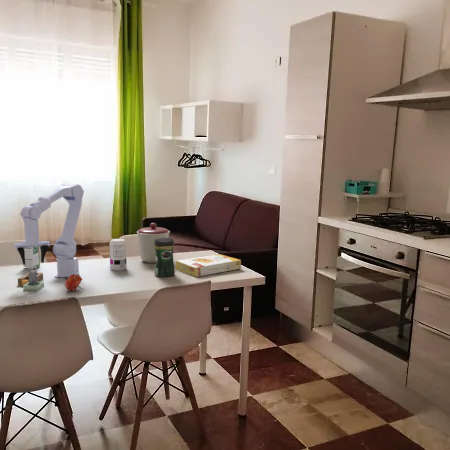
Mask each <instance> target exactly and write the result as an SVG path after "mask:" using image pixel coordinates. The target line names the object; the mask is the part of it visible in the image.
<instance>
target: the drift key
mask: <svg viewBox="0 0 450 450" xmlns="http://www.w3.org/2000/svg"><path fill="white" fill-rule="evenodd" d="M28 282H29V279H28V280H22V285H21V286H22V287H23V286H24V285H25V284H27V283H28Z"/></svg>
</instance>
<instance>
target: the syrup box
mask: <svg viewBox="0 0 450 450" xmlns="http://www.w3.org/2000/svg"><path fill="white" fill-rule="evenodd" d="M21 243H25V239H24V240H22V241H21ZM23 249H24V250H25V265H23V268H24V267H26V268H35V267H38V266H40V267H41V264H40V263H41V257H40V247H29V248H23ZM38 268H39V267H38ZM35 269H36V268H35Z"/></svg>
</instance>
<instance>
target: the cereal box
mask: <svg viewBox="0 0 450 450" xmlns="http://www.w3.org/2000/svg"><path fill="white" fill-rule="evenodd" d="M241 260H242V259H238V258H235V257H231V256H228V255H224V254H221V253H220V254H213V255H212V254H211V255H206V256H200V257H193V258H192V257H191V258H185V259H179V260H176V259H175V261H174V265H175V270H178V271H179V272H182V273H185V274H188V275H190V276H192V277H195V278H197V277H203V276H207V275H213V274H219V273H225V272H230V271H235V270H236V271H237V270H241V269H242V261H241Z"/></svg>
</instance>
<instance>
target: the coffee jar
mask: <svg viewBox="0 0 450 450" xmlns="http://www.w3.org/2000/svg"><path fill="white" fill-rule="evenodd" d="M154 248H155V251H156V259H155V263H154V272H153V273H154V276H155V277H160V278H164V277H165V278H167V277H171V276H172V277H173V276H174V275H175V274H176V273H175V272H176V271H175V270H176V269H175V261H174V249H175V240H174V239H173V238H172V237H168V238H156V239H155V243H154Z"/></svg>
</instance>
